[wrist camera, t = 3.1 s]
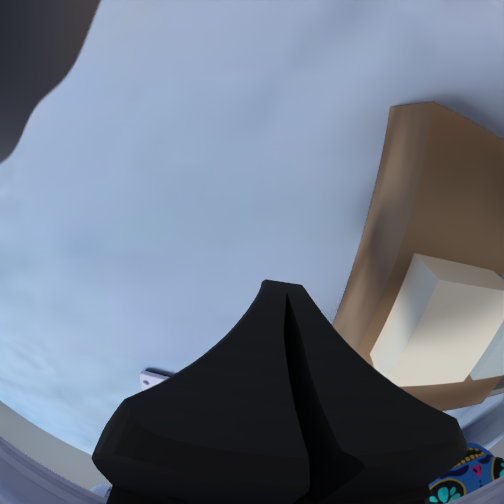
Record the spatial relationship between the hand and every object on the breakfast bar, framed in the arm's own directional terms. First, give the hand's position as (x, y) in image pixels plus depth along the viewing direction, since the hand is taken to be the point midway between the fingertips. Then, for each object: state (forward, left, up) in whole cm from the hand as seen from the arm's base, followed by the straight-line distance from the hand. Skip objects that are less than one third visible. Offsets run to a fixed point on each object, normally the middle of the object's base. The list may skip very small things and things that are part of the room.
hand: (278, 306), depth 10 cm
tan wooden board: (0, -11, -5) cm, 12 cm away
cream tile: (0, -7, -1) cm, 7 cm away
